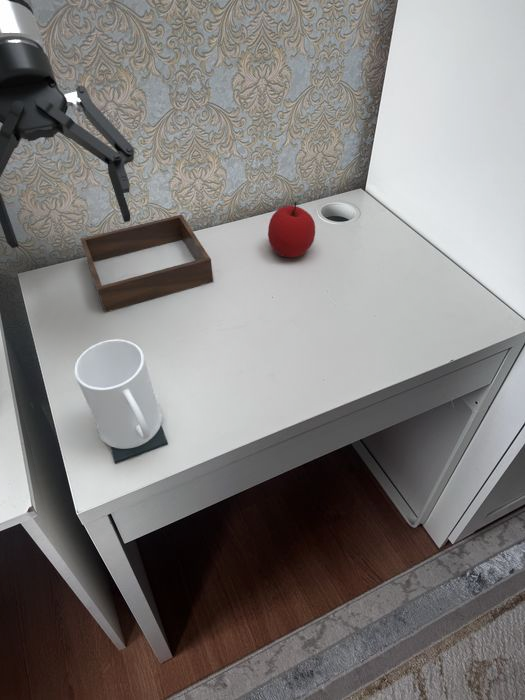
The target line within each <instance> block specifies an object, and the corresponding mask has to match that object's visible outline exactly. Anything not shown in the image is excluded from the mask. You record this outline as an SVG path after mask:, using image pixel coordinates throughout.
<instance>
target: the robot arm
mask: <svg viewBox="0 0 525 700" xmlns="http://www.w3.org/2000/svg"><path fill="white" fill-rule="evenodd" d="M69 107H73V108H74V109H75V110H76V111H77V112H78V113H83V115H84V116H85V118H86V119H87V121H89V123H90V124H91V125H92V126H93V127H94V128H95V129H96V131H98V133H99V134H100V135H101V136H102V137H103V138H104V139H105V140H106V141H107V142H108V143H109V144H110V145H111V146H112V147H113V148H112V147H110V146H109V145H107V144H106V143H105V142H103V141H101V139H100V138H98V137H96V136H95V135H93V134H92V133H91V132H89V131H88V130H86V129H85V128H84V127H82V126H81V125H80V124H77V122H75V121H74V120H73V118H72V117H70V116H69V115H67V112H68V108H69ZM0 123H1V124H2V125H1V127H0V178H1V177H2V175H3V173H4V171H5V169H6V167H7V165H8V163H9V161H10V159H11V157H12V155H13V153H14V151H15V150H16V149H17V148H18V146H19V144H20V142H21V141H22V140H26V141H28V142H32V141H36V140H38V139H41V138H44V139H45V138H46V139H50V138H55V135H57V134H58V133H60V134H61V135H62V136H64V137H65V138H67V139H69V140H72V141H73V142H75V143H76V144H78V145H79V146H81V147H82V148H83V149H84V150H86V151H88V153H90V154H92V155H93V156H94V157H96V158H97V159H100V161H102V162H103V163H105V164H106V165H107V173H108V177H109V180H110V183H111V186H112V189H113V192H114V195H115V198H116V201H117V205H118V207H119V210H120V214H121V217H122V220H123V223H127V222H131V211H130V209H129V206H128V203H127V200H126V197H125V194H127V193H128V194H129V193H130V189H131V188H130V187H131V184H130V181H129V180H130V179H129V177H128V174H127V171H126V169H125V165H127V164H128V163H132V162H133V161H134V159H135V148H134V146H133V145H132V144H131V143H130V141H128V140H127V138H125V136H124V135H123V134H122V133H121V132H120V131H119V130H118V129H117V128H116V126H115V125H114V124H113V123H112V122H111V120H109V119H108V118H107V117H106V115H104V113H103V112H102V111H101V110H100V109H99V108H98V107H97V105H95V103H94V102H93V101H92V98H91V96H90V94H89V91H88V89H87V88H86V86H84V85H77V87H76V89H75V91H72V92H68V93H65V94H64V93H63V92H62V91H61V90H60V88H59V86H58V82H57V80H56V77H55V74H54V70H53V67H52V65H51V62H50V58H49V57H48V55H47V50H46V47H45V43H44V40H43V36H42V34H41V32H40V27H39V25H38V21H37V18H36V16H35V15H34V10H33V7H32V4H31V1H30V0H0ZM0 225H1V229H2V232H3V235H4V237H5V240H6V243H7V244H8V246H10V247H11V249H15V248H19V247H20V246H19V243H18V239H17V237H16V233H15V231H14V228H13V224H12V222H11V219H10V216H9V213H8V210H7V207H6V204H5V201H4V198H3V196H2V194H1V192H0Z"/></svg>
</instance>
